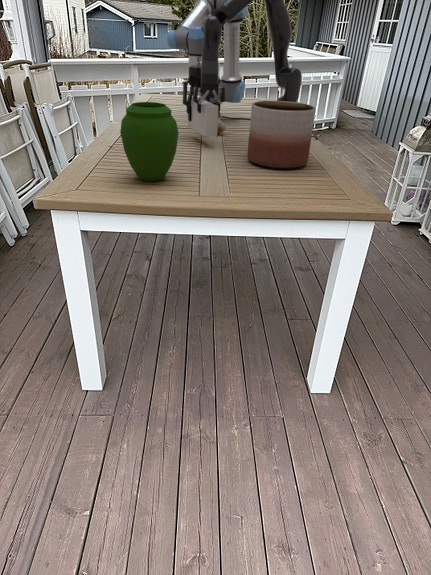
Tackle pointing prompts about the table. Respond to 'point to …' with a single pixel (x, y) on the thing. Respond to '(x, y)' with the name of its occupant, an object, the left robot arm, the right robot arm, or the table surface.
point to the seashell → (220, 126)
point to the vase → (149, 139)
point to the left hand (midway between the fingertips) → (196, 120)
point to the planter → (280, 134)
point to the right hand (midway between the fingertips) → (208, 112)
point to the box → (204, 118)
